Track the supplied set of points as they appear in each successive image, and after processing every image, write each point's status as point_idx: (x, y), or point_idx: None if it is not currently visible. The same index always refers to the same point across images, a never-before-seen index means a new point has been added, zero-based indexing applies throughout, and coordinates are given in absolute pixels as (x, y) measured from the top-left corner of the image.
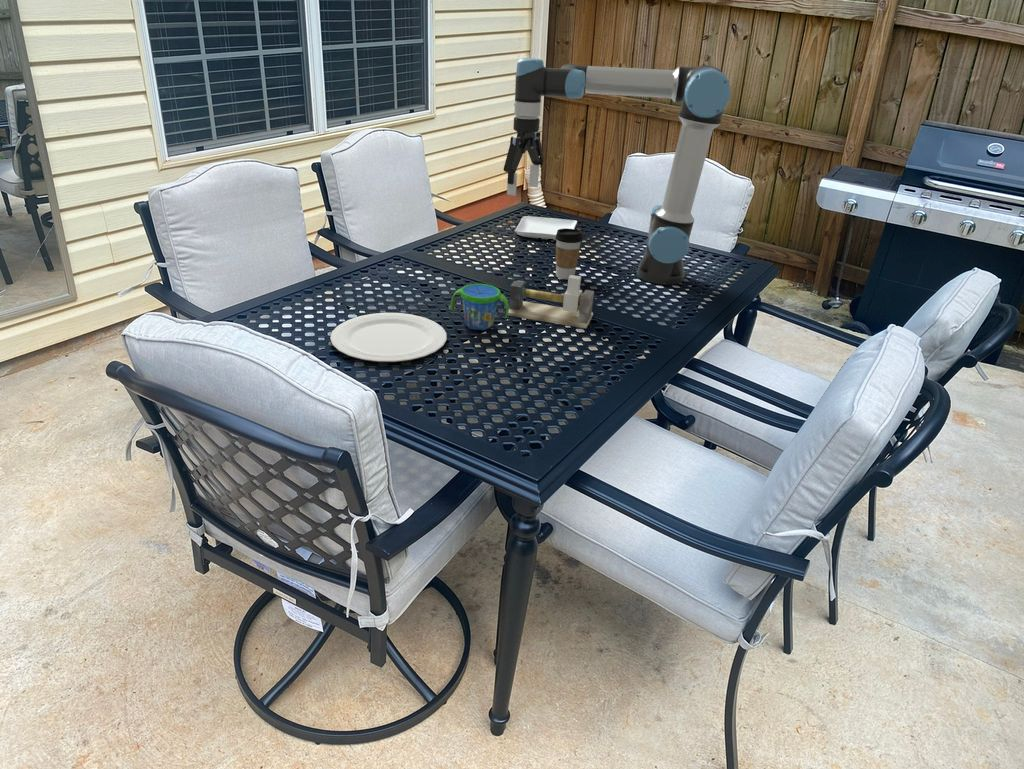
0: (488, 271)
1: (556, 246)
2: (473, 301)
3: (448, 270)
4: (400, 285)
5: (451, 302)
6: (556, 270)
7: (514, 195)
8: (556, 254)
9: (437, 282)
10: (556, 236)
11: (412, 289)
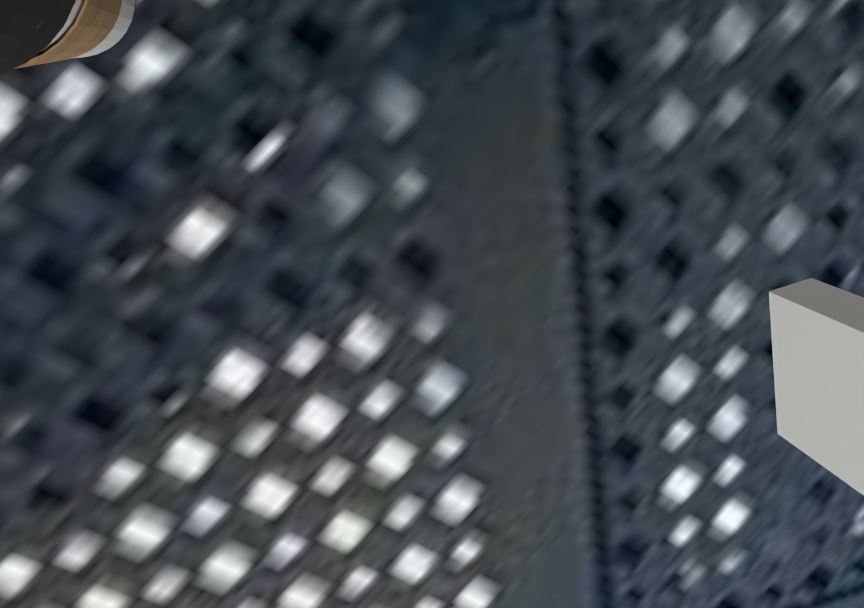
0: (427, 332)
1: (82, 14)
2: None
3: (572, 440)
4: None
5: None
6: (121, 25)
7: (815, 285)
8: (98, 18)
9: (717, 346)
10: (54, 13)
11: None
